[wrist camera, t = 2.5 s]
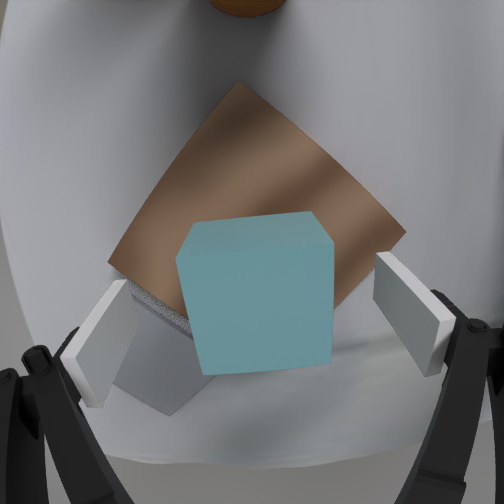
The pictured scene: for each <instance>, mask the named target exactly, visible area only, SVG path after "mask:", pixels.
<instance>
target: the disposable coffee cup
mask: <svg viewBox="0 0 504 504" xmlns="http://www.w3.org/2000/svg"><path fill="white" fill-rule="evenodd" d="M209 1H210V2H211V4H212V5H214V6H215V7H216V8H217V9H219V10H220V11H222V12H225V13H227V14H229V15H234V16H238V17H255V16H260V15H264V14H267V13H269V12H271V11H273V10H275V9H277V8H278V7H279V6H280V5H282V4H283V3H284V1H285V0H209Z"/></svg>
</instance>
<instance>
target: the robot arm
mask: <svg viewBox="0 0 504 504" xmlns="http://www.w3.org/2000/svg"><path fill="white" fill-rule="evenodd" d="M373 299H374V301H375V302H376V304H377V305H378V307H379V308H380V309H381V311H382V312H383V314H384V315H385V317H386V318H387V320H388V321H389V323H390V324H391V326H392V327H393V329H394V330H395V332H396V333H397V335H398V336H399V338H400V339H401V341H402V342H403V344H404V345H405V347H406V348H407V350H408V351H409V353H410V354H411V356H412V357H413V359H414V361H415V362H416V364H417V365H418V367H419V368H420V370H421V372H422V373H423V375H424V376H425V377H428V376H431V375H435V374H438V373H440V372H441V369H442V366H443V363H444V362H445V364H446V365H447V367H448V370H447V373H446V376H445V378H444V381H443V384H442V390H441V393H440V396H439V399H438V402H437V405H436V408H435V411H434V414H433V417H432V420H431V422H430V425H429V428H428V430H427V433H426V436H425V438H424V441H423V443H422V446H421V448H420V451H419V453H418V455H417V458H416V460H415V462H414V464H413V467H412V469H411V471H410V473H409V475H408V477H407V480H406V482H405V483H404V486H403V488H402V490H401V492H400V494H399V495H398V497H397V499H396V501H395V503H394V504H461V501H462V499H463V496H464V493H465V489H466V482H464V476H465V472H466V469H467V466H468V462H469V459H470V455H471V451H472V448H473V443H474V440H475V435H476V431H477V426H478V422H479V417H480V412H481V407H482V401H483V395H484V388H485V381H486V377H487V382H488V388H489V395H490V402H491V410H492V419H493V429H494V441H495V460H496V461H495V463H496V492H495V504H504V324H503V327H502V328H493V329H490V328H489V326H488V325H487V323H485V322H483V321H482V320H479V319H472V318H471V319H468V318H467V317H466V316H465V315H464V314H463V313H462V312H461V311H460V310H459V309H458V308H457V307H456V306H455V305H454V304H453V303H452V302H451V301H449V299H448V298H447V297H446V296H445V295H444V294H442V293H441V292H439V291H437V290H435V289H434V290H429V289H428V288H427V287H426V286H425V285H424V284H423V283H422V282H421V281H420V280H419V279H418V278H416V277H415V276H414V275H413V274H412V273H411V272H410V271H409V270H408V269H407V268H406V267H405V266H404V265H403V264H402V263H401V262H400V261H399V260H398V259H396V258H395V257H394V256H393V255H392V254H391V253H390V252H389V251H388V252H380V253H376V263H375V279H374V293H373ZM139 324H140V320H139V317H138V314H137V311H136V308H135V304H134V301H133V298H132V294H131V291H130V287H129V284H128V280H127V279H124V280H115V281H114V282H113V283H112V285H111V286H110V287H109V289H108V290H107V291H106V293H105V294H104V295H103V297H102V298H101V299H100V301H99V302H98V303H97V305H96V306H95V307H94V309H93V310H92V311H91V313H90V314H89V316H88V317H87V318H86V320H85V321H84V323H83V324H82V325H81V327H77V328H76V329H74V330H73V331H72V332H71V333H70V334H69V335H68V337H67V338H66V339H65V340H66V341H64V342H63V344H62V346H60V348H59V349H58V351H57V352H56V354H55V355H54V357H53V358H52V356H51V354H50V352H49V350H48V348H47V347H46V346H44V345H37V346H34V347H32V348H30V349H28V350H27V351H26V352H25V353H24V354H23V356H22V359H21V361H22V362H23V364H24V366H25V368H26V370H27V372H28V373H29V375H28V376H22V377H20V376H19V375H18V373H17V371H16V370H15V369H13V368H7V369H5V370H2V371H0V504H49V500H48V491H47V480H46V467H45V446H44V445H45V444H44V433H45V436H46V440H47V443H48V446H49V449H50V452H51V455H52V458H53V460H54V463H55V466H56V469H57V471H58V474H59V477H60V479H61V482H62V484H63V486H64V489H65V491H66V493H67V496H68V498H69V500H70V502H71V504H134V502H133V501H132V499H131V498H130V496H129V495H128V493H127V492H126V490H125V489H124V487H123V485H122V484H121V482H120V481H119V479H118V477H117V476H116V474H115V473H114V471H113V469H112V467H111V466H110V464H109V462H108V460H107V459H106V457H105V455H104V453H103V451H102V449H101V448H100V446H99V444H98V442H97V440H96V438H95V436H94V434H93V432H92V430H91V428H90V426H89V424H88V422H87V420H86V418H85V416H84V414H83V411H82V409H81V408H80V406H79V404H78V403H79V401H80V399H81V398H82V399H83V401H84V403H85V404H86V406H87V407H92V408H102V407H103V405H104V403H105V400H106V398H107V395H108V393H109V391H110V388H111V386H112V384H113V381H114V379H115V377H116V375H117V372H118V370H119V368H120V365H121V363H122V361H123V359H124V357H125V354H126V352H127V350H128V348H129V346H130V343H131V341H132V339H133V337H134V335H135V333H136V331H137V328H138V326H139Z"/></svg>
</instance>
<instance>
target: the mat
mask: <svg viewBox="0 0 504 504" xmlns="http://www.w3.org/2000/svg"><path fill="white" fill-rule="evenodd" d="M132 298H133V301H134V304H135V308H136V311H137V314H138V317H139V320H140V324H139V326H138V328H137V331H136V333H135V335H134V337H133V339H132V341H131V343H130V346H129V348H128V350H127V352H126V354H125V357H124V359H123V361H122V363H121V365H120V368H119V370H118V372H117V375H116V377H115V379H114V381H113V384H114V385H116V386H117V387H119V388H120V389H122V390H124V391H125V392H127V393H129V394H130V395H132V396H134V397H135V398H137V399H139V400H141V401H142V402H144V403H146V404H148V405H149V406H151V407H153V408H155V409H157V410H159V411H160V412H162V413H164V414H166V415H168V416H171V415H172V414H173V413H174V412H175V411H176V410H177V409H179V408H180V407H181V406H182V405H183V404H184V403H185V402H186V401H188V400H189V399H190V398H191V397H192V396H193V395H194V394H195V393H196V392H198V391H199V390H200V389H201V388H202V387H203V386H204V385H205V384H206V383H207V382H209V381H210V380H211V379H212V378H213V377H214V376H215V375H203V373H202V370H201V366H200V362H199V358H198V355H197V351H196V347H195V343H194V339H193V336H192V335H191V334H189V333H188V332H186V331H185V330H183V329H182V328H180V327H179V326H177V325H176V324H174V323H173V322H171V321H170V320H168V319H167V318H165V317H164V316H162V315H161V314H159V313H158V312H156V311H155V310H153V309H152V308H150V307H149V306H147V305H146V304H145V303H143V302H142V301H140V300H139V299H138V298H136V297H135V296H133V295H132Z"/></svg>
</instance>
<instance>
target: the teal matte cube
mask: <svg viewBox="0 0 504 504" xmlns="http://www.w3.org/2000/svg"><path fill="white" fill-rule="evenodd" d="M175 259H176V264H177V269H178V274H179V279H180V283H181V288H182V292H183V297H184V301H185V306H186V310H187V314H188V318H189V323H190V327H191V331H192V335H193V339H194V343H195V347H196V351H197V355H198V358H199V362H200V366H201V370H202V373H203V375H218V374H236V373H250V372H262V371H273V370H283V369H292V368H301V367H309V366H317V365H324V364H331V351H332V332H333V305H334V242H333V240H332V239H331V238H330V236H329V235H328V233H327V232H326V231H325V229H324V228H323V227H322V225H321V224H320V222H319V221H318V220H317V218H316V217H315V216H314V214H313V213H312V211H306V212H295V213H283V214H273V215H262V216H252V217H242V218H232V219H223V220H214V221H204V222H196V223H194V224H193V226H192V228H191V230H190V232H189V233H188V235H187V237H186V239H185V241H184V243H183V245H182V246H181V248H180V250H179V252H178V254H177V256H176V258H175Z"/></svg>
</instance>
